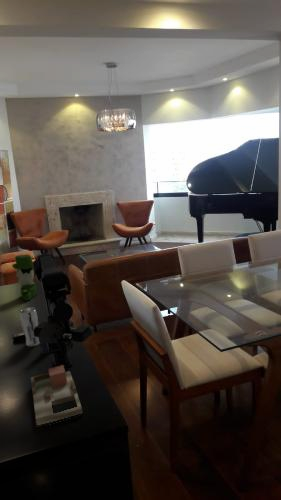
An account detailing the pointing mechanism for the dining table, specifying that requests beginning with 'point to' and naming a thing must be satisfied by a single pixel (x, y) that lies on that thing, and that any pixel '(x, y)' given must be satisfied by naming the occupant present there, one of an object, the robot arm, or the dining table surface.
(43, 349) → the vaping device
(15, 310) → the dining table surface
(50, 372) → the red block
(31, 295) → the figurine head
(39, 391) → the deck
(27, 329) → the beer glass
